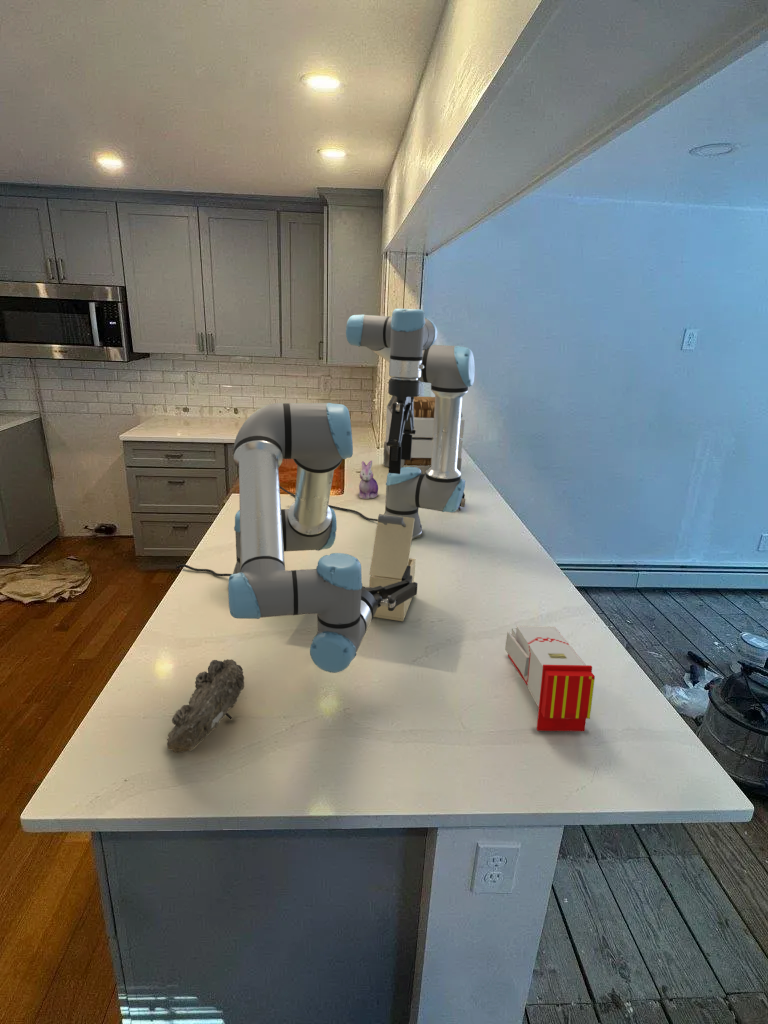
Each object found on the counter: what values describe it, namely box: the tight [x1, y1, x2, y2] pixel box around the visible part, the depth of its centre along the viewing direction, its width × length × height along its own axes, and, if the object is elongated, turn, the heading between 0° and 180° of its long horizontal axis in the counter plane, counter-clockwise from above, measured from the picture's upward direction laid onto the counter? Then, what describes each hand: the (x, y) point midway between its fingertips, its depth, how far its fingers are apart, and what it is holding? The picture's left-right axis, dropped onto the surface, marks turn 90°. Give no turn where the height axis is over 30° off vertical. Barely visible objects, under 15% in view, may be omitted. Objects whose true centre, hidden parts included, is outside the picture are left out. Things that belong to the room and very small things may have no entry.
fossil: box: [166, 658, 245, 754], centre depth 106 cm, size 22×10×15 cm
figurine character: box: [457, 492, 466, 511], centre depth 229 cm, size 7×8×15 cm
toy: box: [504, 625, 596, 732], centre depth 119 cm, size 12×13×30 cm
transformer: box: [383, 395, 465, 474], centre depth 268 cm, size 34×33×41 cm
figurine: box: [358, 460, 379, 500], centre depth 236 cm, size 9×10×15 cm
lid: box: [369, 513, 415, 579], centre depth 138 cm, size 16×9×9 cm
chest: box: [368, 557, 417, 622], centre depth 150 cm, size 14×9×11 cm, turn 167°
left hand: (379, 566), depth 129 cm, fingers open, 13 cm apart
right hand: (400, 466), depth 140 cm, fingers open, 13 cm apart
